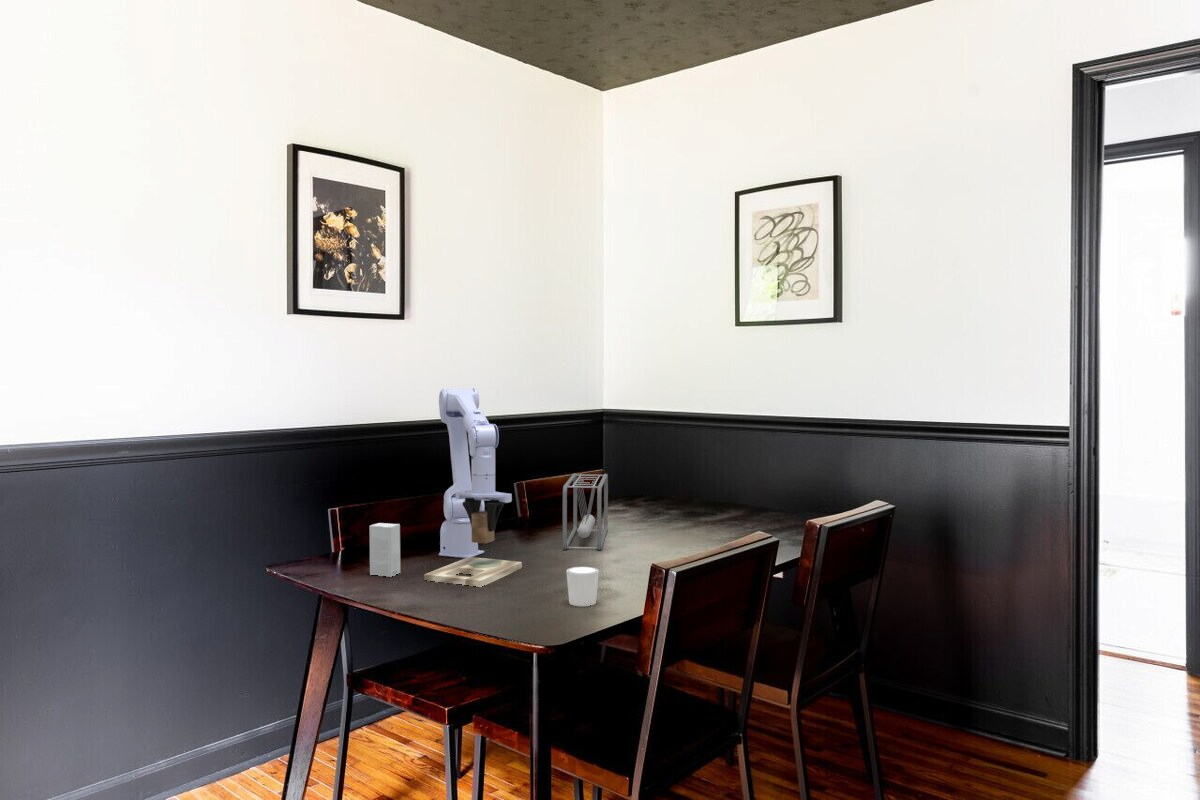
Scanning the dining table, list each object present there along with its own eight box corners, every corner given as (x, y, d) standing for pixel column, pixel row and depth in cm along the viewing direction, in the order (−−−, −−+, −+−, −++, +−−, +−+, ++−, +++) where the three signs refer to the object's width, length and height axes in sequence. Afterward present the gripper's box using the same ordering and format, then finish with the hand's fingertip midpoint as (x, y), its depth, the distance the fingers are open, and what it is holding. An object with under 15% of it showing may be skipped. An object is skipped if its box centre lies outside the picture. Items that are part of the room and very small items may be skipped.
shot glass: (565, 598, 182) (565, 566, 182) (597, 598, 183) (597, 565, 183) (567, 607, 175) (567, 574, 175) (600, 606, 176) (600, 573, 176)
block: (471, 542, 206) (471, 513, 206) (480, 539, 210) (480, 510, 209) (486, 543, 204) (486, 514, 204) (494, 540, 208) (494, 512, 208)
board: (424, 580, 197) (424, 573, 197) (469, 562, 215) (469, 556, 215) (480, 587, 191) (480, 579, 191) (521, 568, 210) (521, 561, 210)
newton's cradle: (573, 530, 259) (573, 472, 259) (607, 530, 259) (608, 472, 258) (562, 551, 229) (562, 485, 229) (601, 552, 229) (601, 486, 228)
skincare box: (401, 573, 204) (400, 523, 203) (391, 577, 200) (390, 527, 199) (379, 571, 206) (378, 522, 205) (368, 575, 202) (368, 525, 201)
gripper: (448, 474, 205) (448, 530, 206) (501, 478, 200) (501, 535, 201) (464, 471, 212) (464, 525, 213) (515, 474, 206) (515, 530, 207)
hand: (483, 530), depth 207 cm, fingers closed on block, 4 cm apart
